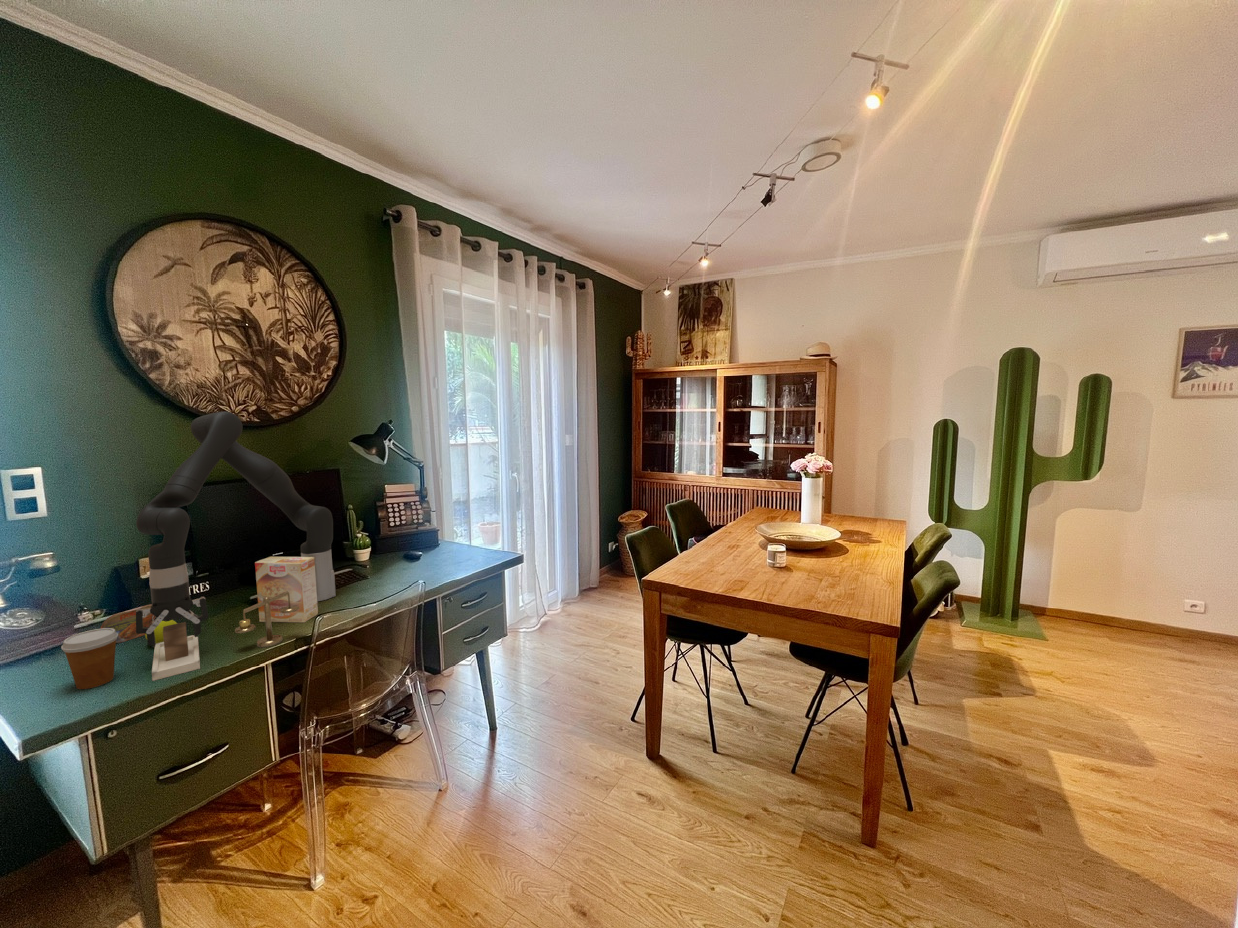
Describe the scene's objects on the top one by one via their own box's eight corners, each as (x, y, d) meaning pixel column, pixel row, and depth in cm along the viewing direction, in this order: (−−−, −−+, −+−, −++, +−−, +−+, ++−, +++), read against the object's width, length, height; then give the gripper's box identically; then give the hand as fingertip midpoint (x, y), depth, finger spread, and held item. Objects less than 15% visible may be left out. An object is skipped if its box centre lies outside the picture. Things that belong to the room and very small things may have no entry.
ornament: (176, 635, 147) (172, 603, 146) (183, 641, 143) (180, 608, 142) (143, 644, 141) (139, 611, 140) (150, 651, 137) (146, 616, 136)
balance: (299, 631, 149) (295, 586, 148) (302, 638, 145) (299, 591, 143) (235, 647, 139) (231, 599, 138) (237, 654, 135) (233, 605, 133)
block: (188, 649, 136) (185, 621, 135) (188, 655, 133) (185, 627, 132) (166, 655, 133) (163, 626, 132) (165, 661, 130) (162, 632, 129)
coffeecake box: (258, 622, 156) (253, 562, 154) (275, 613, 163) (270, 555, 161) (304, 622, 156) (300, 562, 154) (318, 613, 163) (315, 556, 161)
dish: (198, 640, 144) (197, 634, 143) (200, 668, 128) (199, 660, 128) (155, 650, 138) (155, 643, 137) (152, 680, 122) (151, 673, 122)
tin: (104, 647, 140) (101, 619, 139) (100, 645, 141) (96, 617, 140) (171, 627, 153) (169, 600, 152) (166, 625, 154) (164, 599, 154)
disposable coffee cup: (72, 697, 115) (66, 648, 114) (61, 685, 120) (56, 638, 119) (128, 678, 123) (123, 632, 122) (116, 668, 128) (111, 624, 127)
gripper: (204, 573, 138) (209, 628, 140) (132, 584, 129) (139, 644, 130) (205, 579, 132) (210, 637, 134) (130, 592, 123) (137, 654, 125)
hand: (175, 640), depth 132 cm, fingers open, 8 cm apart
